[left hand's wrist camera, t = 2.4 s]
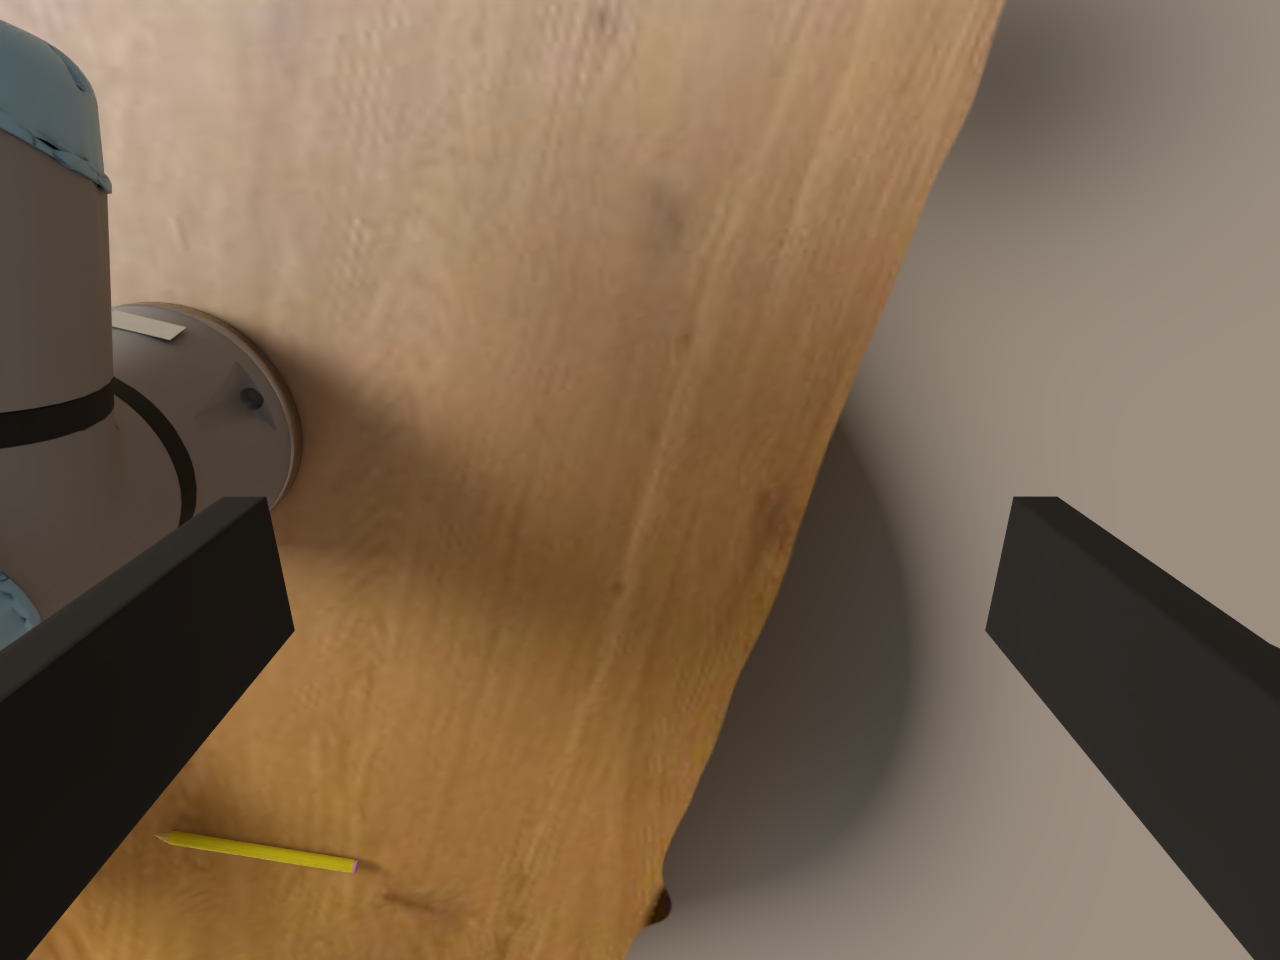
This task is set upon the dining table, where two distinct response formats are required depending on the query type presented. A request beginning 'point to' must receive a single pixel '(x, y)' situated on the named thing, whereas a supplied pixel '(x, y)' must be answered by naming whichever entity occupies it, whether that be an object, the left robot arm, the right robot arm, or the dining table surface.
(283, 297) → the dining table surface
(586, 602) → the dining table surface
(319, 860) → the pencil
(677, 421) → the dining table surface
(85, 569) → the left robot arm
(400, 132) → the dining table surface
